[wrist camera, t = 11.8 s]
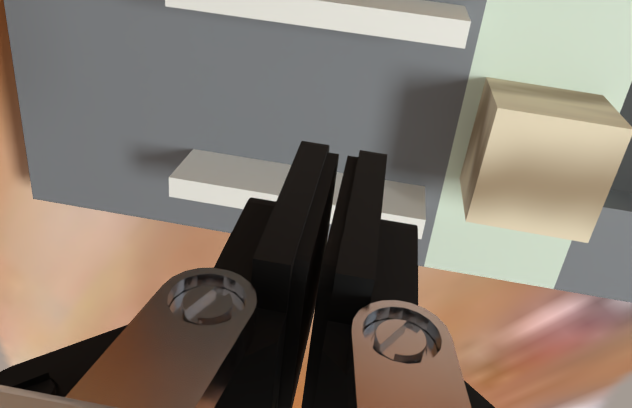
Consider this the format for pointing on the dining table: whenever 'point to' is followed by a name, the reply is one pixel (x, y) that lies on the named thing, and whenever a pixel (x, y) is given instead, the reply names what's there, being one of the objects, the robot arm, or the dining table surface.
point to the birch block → (541, 159)
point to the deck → (313, 111)
